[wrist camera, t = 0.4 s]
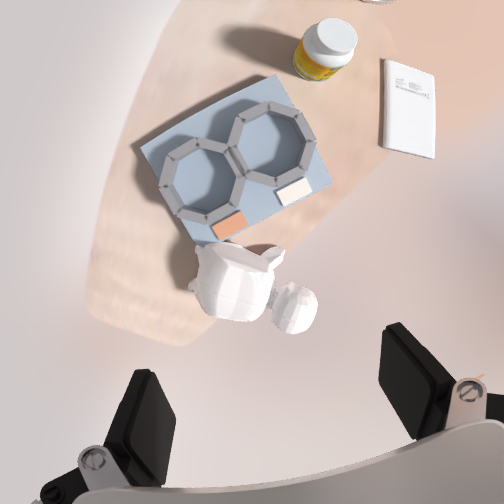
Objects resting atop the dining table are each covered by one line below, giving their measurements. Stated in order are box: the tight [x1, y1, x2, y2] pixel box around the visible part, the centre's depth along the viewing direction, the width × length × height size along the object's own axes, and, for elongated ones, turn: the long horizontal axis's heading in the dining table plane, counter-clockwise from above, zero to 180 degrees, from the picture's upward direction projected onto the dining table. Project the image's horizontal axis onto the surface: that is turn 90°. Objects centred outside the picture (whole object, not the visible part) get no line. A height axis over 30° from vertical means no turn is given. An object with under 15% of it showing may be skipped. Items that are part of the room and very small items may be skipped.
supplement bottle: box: [293, 18, 357, 82], centre depth 25 cm, size 5×5×10 cm
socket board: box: [140, 74, 333, 248], centre depth 30 cm, size 17×14×4 cm
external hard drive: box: [382, 59, 435, 159], centre depth 31 cm, size 2×8×12 cm
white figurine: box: [188, 242, 318, 334], centre depth 33 cm, size 9×8×15 cm
